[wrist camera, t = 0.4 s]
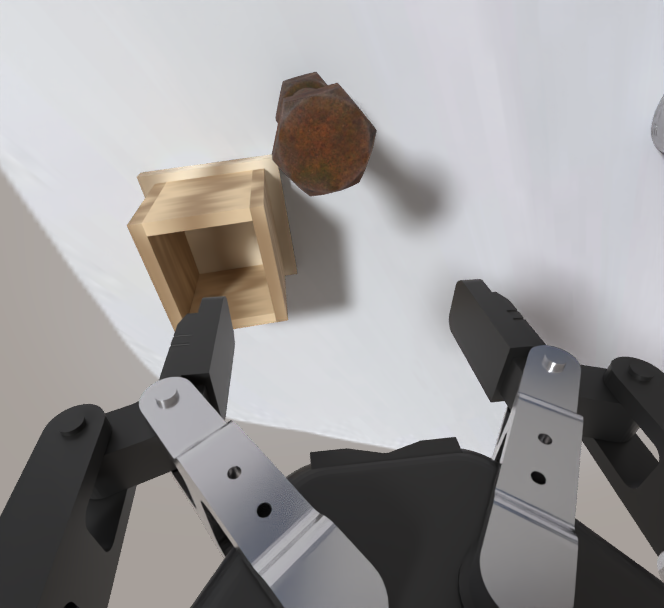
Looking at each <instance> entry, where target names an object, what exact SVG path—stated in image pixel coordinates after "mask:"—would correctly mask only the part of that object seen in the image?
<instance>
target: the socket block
mask: <svg viewBox="0 0 664 608" xmlns="http://www.w3.org/2000/svg"><path fill="white" fill-rule="evenodd" d="M137 179H138V181H139V184H140V186H141V189H142V191H143V194H144V196H145V199H144V201H143V202H142V204H141V205H140V207H139V208H138V210H137V211H136V213H135V214H134V216H133V217H132V219H131V220H130V222H129V223H128V225H127V227H128V229H129V232H130V234H131V236H132V238H133V240H134V243H135V245H136V247H137V249H138V251H139V254H140V256H141V258H142V260H143V263H144V265H145V267H146V269H147V271H148V274H149V276H150V278H151V280H152V282H153V285H154V287H155V289H156V291H157V293H158V296H159V298H160V300H161V302H162V304H163V307H164V309H165V311H166V313H167V316H168V318H169V320H170V322H171V324H172V327H173V329H174V331H175V330H176V327H177V324H178V323H179V322H180V321H181V320H182V319H183V318H184V317H185V315H186V314H188V313H198V311H199V307H200V303H201V300H202V298H204V297H218V296H226V298H227V302H228V306H229V311H230V316H231V321H232V326H233V329H237V328H243V327H249V326H256V325H262V324H268V323H274V322H280V321H287V320H288V313H287V300H286V286H285V276H286V275H293V274H297V268H296V262H295V256H294V251H293V245H292V240H291V234H290V228H289V223H288V217H287V211H286V206H285V200H284V194H283V189H282V183H281V178H280V172H279V167H278V166H277V165H276V164H275V163H274V161H273V160H272V155H265V156H258V157H251V158H243V159H236V160H229V161H222V162H215V163H207V164H200V165H193V166H186V167H179V168H171V169H164V170H157V171H150V172H143V173H140V174H139V175H138V176H137Z"/></svg>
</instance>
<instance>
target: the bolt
mask: <svg viewBox="0 0 664 608" xmlns="http://www.w3.org/2000/svg"><path fill="white" fill-rule="evenodd" d="M276 121H277V122H278V126H277V131H276V136H275V141H274V146H273V151H272V160H273V161H274V163H275V164H276V165H277V166H278V167H279V168H280V169H281V170H282V171H283V172H284V173H285V174H286V175H287V176H288V177H289V178H290V179H291V180H292V181H293V182H294V183H295V184H296V185H297V186H298V187H299V188H300V189H301V190H303V191H304V192H305V193H307V194H308V195H309V196H318V195H324V194H329V193H333V192H337V191H341V190H343V189H346V188H349V187H351V186H353V185H355V184H357V183H359V182H360V180H361V178H362V176H363V174H364V171H365V169H366V166H367V163H368V160H369V158H370V155H371V152H372V148H373V145H374V140H375V136H376V131H377V130H376V129H375V128H374V126H373V125H372V124H371V122H370V121H369V120H368V119H367V117H366V116H365V115H364V114H363V112H362V111H361V110H360V109H359V107H358V106H357V105H356V104H355V103H354V101H353V100H352V99H351V98H350V96H349V95H348V94H347V93H346V92H345V91H344V89H343V88H342V87H341V86H340V85H339V84H338V83H335V84H331V85H327V84H326V83H325V82H324V80H323V79H322V78H321V77H320V76H319V75H318V73H317V72H313V73H309V74H305V75H301V76H298V77H294V78H291V79H288V80H285V81H283V83H282V87H281V92H280V97H279V102H278V107H277V113H276Z"/></svg>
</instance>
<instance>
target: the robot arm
mask: <svg viewBox="0 0 664 608" xmlns="http://www.w3.org/2000/svg"><path fill="white" fill-rule="evenodd" d="M651 135H652V141H653V143H654V145H655V147H656V148H657V149H658V150H659V151H660V152H662V153H664V95H663V97H662V99H661V101H660V102H659V104H658V107H657V109H656V111H655V114H654V117H653V121H652V127H651ZM449 325H450V330H451V332H452V334H453V336H454V338H455V339H456V341H457V343H458V345H459V347H460V348H461V350H462V352H463V354H464V356H465V357H466V359H467V361H468V363H469V364H470V366H471V368H472V370H473V372H474V373H475V375H476V377H477V379H478V381H479V382H480V384H481V386H482V388H483V389H484V391H485V393H486V395H487V397H488V398H489V400H490V402H499V401H505V402H506V404H507V408H506V411H505V414H504V417H503V421H502V424H501V428H500V431H499V435H498V438H497V442H496V445H495V448H494V452H493V455H492V458H489V457H487V456H485V455H482V454H480V453H477V452H474V451H470V450H466V449H461V448H460V446H459V443H458V441H457V439H456V437H451V438H441V439H432V440H422V441H419V442H416V443H413V444H411V445H408V446H405V447H403V448H400V449H397V450H395V451H392V452H390V453H378V452H370V451H362V450H354V449H337V450H328V451H318V452H311V453H310V459H311V464H309V465H307V466H304V467H302V468H300V469H298V470H296V471H294V472H293V473H291V474H290V475H288V476H287V477H285V476H284V475H283V474H282V473H281V472H280V471H279V470H278V469H277V467H275V465H274V464H273V463H272V462H271V461H270V460H269V459H268V457H267V456H266V455H265V454H264V453H263V452H262V451H261V450H260V449H259V448H258V446H257V445H256V444H255V443H254V442H253V441H252V440H251V439H250V438H249V437H248V435H247V434H246V433H245V432H244V431H243V430H242V429H241V428H240V427H239V425H238V424H236V423H235V422H234V421H229V422H228V423H227V422H226V421H225V417H226V409H227V402H228V394H229V386H230V379H231V371H232V364H233V356H234V347H235V340H234V331H233V326H232V321H231V316H230V311H229V306H228V302H227V298H226V296H218V297H204V298H202V300H201V303H200V307H199V311H198V313H188V314H186V315H185V317H184V318H183V319H182V320H181V321H180V322H179V323H178V324H177V327H176V330H175V333H174V337H173V339H172V342H171V347H170V348H169V351H168V354H167V357H166V360H165V363H164V366H163V369H162V373H161V376H160V379H159V381H157V382H155V383H154V384H152V385H151V386H149V387H148V388H147V389H146V390H145V391H144V392H143V394H142V395H141V397H140V400H139V401H138V402H136V403H134V404H132V405H129V406H126V407H123V408H121V409H117V410H114V411H111V412H108V413H104V411H103V410H102V409H101V408H100V407H98V406H97V405H93V404H83V405H78V406H74V407H72V408H69V409H67V410H65V411H63V412H61V413H60V414H58V415H57V416H56V417H54V418H53V419H52V420H51V421H50V422H49V423H48V424H47V426H46V427H45V429H44V430H43V432H42V434H41V436H40V438H39V440H38V442H37V444H36V446H35V448H34V450H33V452H32V454H31V456H30V458H29V460H28V462H27V464H26V466H25V468H24V470H23V472H22V474H21V476H20V478H19V480H18V482H17V484H16V486H15V488H14V490H13V492H12V494H11V497H10V498H9V500H8V502H7V504H6V506H5V508H4V510H3V512H2V514H1V516H0V608H107V607H108V603H109V599H110V594H111V590H112V586H113V582H114V578H115V573H116V569H117V565H118V561H119V557H120V552H121V548H122V544H123V540H124V536H125V531H126V527H127V523H128V519H129V515H130V511H131V507H132V502H133V498H134V494H135V490H136V486H137V485H138V484H140V483H143V482H145V481H148V480H150V479H153V478H155V477H158V476H160V475H163V474H165V473H167V472H170V474H171V475H172V476H173V478H174V480H175V481H176V483H177V484H178V486H179V487H180V489H181V490H182V492H183V493H184V495H185V496H186V498H187V499H188V501H189V502H190V504H191V506H192V507H193V509H194V510H195V512H196V513H197V515H198V516H199V518H200V520H201V521H202V523H203V525H204V527H205V529H206V530H207V532H208V534H209V535H210V537H211V539H212V541H213V542H214V544H215V545H216V547H217V549H218V550H219V552H220V553H221V555H222V556H223V558H224V560H223V562H222V563H221V564H220V566H219V567H218V569H217V570H216V572H215V573H214V575H213V576H212V577H211V579H210V580H209V582H208V583H207V584H206V586H205V587H204V589H203V590H202V592H201V593H200V594H199V596H198V597H197V599H196V600H195V602H194V603H193V605H192V606H191V607H190V608H664V373H663V372H662V371H660V370H659V369H658V368H656V367H655V366H653V365H652V364H650V363H648V362H645V361H643V360H640V359H637V358H632V357H618V358H615V359H614V360H613V361H612V362H611V364H610V365H609V367H608V369H605V368H598V367H591V366H585V365H580V364H579V362H578V361H577V359H576V358H575V357H574V356H572V355H571V354H570V353H568V352H566V351H565V350H562V349H560V348H557V347H554V346H548V345H546V344H545V343H544V342H543V341H542V339H541V338H540V337H539V336H538V335H537V333H536V332H535V331H534V330H533V329H532V327H531V326H530V325H529V324H528V323H527V321H526V320H524V319H523V317H522V315H521V314H520V313H519V312H517V309H516V308H515V307H514V306H513V304H512V303H511V302H510V301H509V300H508V299H506V298H505V297H503V296H502V295H500V294H499V293H497V292H491V290H490V289H489V288H488V287H487V285H486V284H485V283H484V282H483V280H481V279H474V280H460V281H458V282H457V284H456V287H455V291H454V296H453V301H452V305H451V310H450V314H449ZM639 428H641V429H642V430H643V431H644V433H645V434H646V435H647V436H648V437H649V439H650V440H651V441H652V442H653V443H654V445H655V446H656V448H657V450H658V453H659V462H658V461H657V459H656V458H655V457H654V456H653V455H652V453H651V452H650V451H649V450H648V448H647V447H646V446H645V444H644V443H643V442H642V441H641V439H640V438H639V437H638V436H637V434H636V432H637V430H638V429H639ZM582 441H583V443H584V444H585V446H586V447H587V449H588V450H589V452H590V454H591V455H592V456H593V458H594V460H595V461H596V463H597V464H598V466H599V467H600V469H601V470H602V472H603V473H604V475H605V476H606V478H607V479H608V481H609V482H610V484H611V486H612V487H613V489H614V490H615V492H616V493H617V495H618V496H619V498H620V499H621V501H622V502H623V504H624V505H625V507H626V508H627V510H628V511H629V513H630V514H631V516H632V517H633V519H634V520H635V522H636V524H637V525H638V526H639V528H640V530H641V531H642V533H643V534H644V535H645V537H646V539H647V540H648V542H649V543H650V545H651V547H652V548H653V550H654V551H655V553H656V554H657V556H658V561H657V567H658V571H659V574H660V577H661V579H662V581H663V582H662V581H661V580H659V579H658V578H657V577H655V576H654V575H653V574H651V573H649V572H648V571H647V570H646V569H644V568H643V567H642V566H640V565H639V564H637V563H636V562H635V561H633V560H632V559H630V558H629V557H628V556H626V555H625V554H624V553H622V552H621V551H619V550H618V549H617V548H615V547H614V546H612V545H611V544H610V543H608V542H607V541H606V540H604V539H603V538H602V537H600V536H599V535H598V534H596V533H595V532H593V531H592V530H591V529H589V528H588V527H586V526H585V525H584V524H582V523H581V522H579V521H578V520H577V519H575V512H576V500H577V490H578V478H579V466H580V455H581V443H582Z"/></svg>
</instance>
